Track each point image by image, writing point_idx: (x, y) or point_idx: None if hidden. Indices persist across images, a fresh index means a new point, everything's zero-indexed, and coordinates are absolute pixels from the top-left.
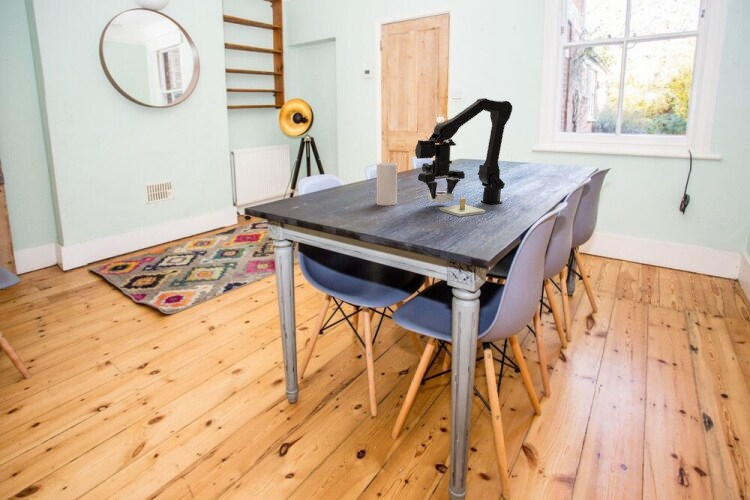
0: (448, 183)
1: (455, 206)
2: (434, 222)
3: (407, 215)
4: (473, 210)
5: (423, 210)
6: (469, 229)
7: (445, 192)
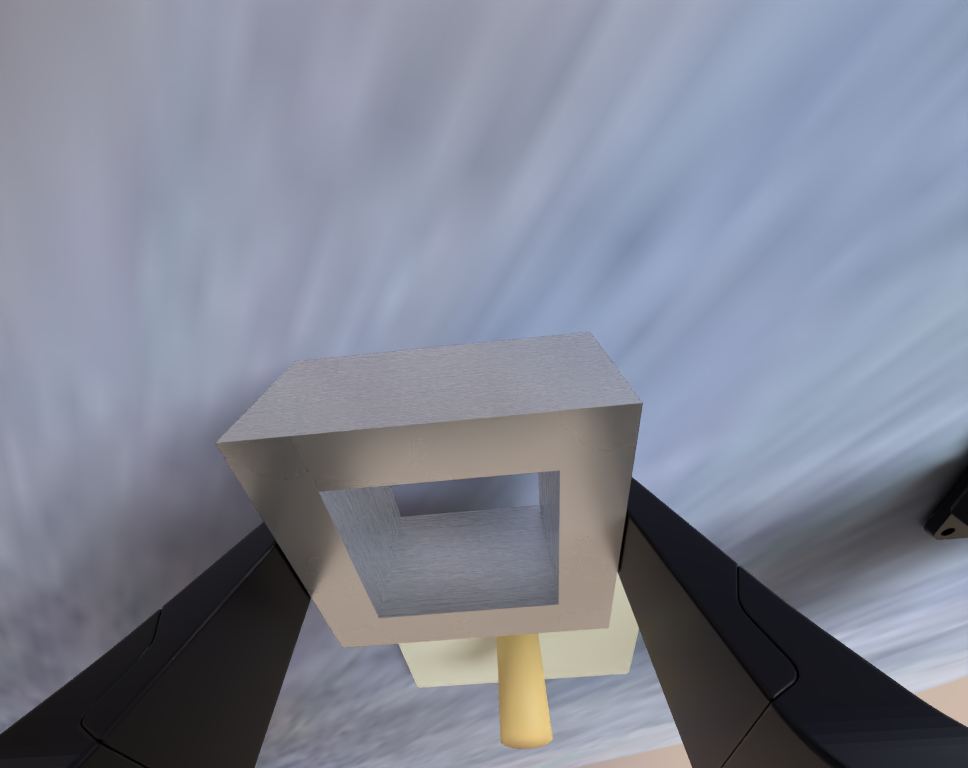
0: (769, 751)
1: None
2: None
3: (47, 579)
4: (555, 662)
5: (212, 502)
6: (354, 757)
7: (558, 546)
